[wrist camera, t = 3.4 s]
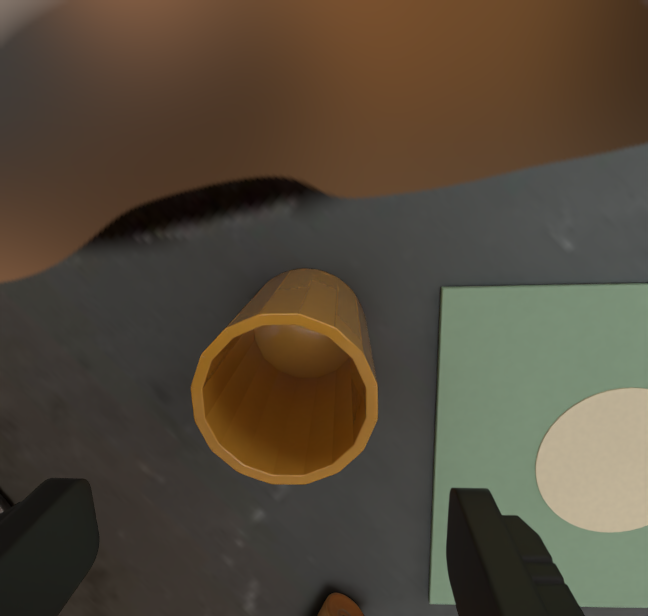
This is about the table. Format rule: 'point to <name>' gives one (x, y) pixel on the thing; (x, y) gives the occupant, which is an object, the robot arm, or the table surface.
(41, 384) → the table surface
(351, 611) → the kendama
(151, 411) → the table surface
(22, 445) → the table surface
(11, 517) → the robot arm
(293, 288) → the cup
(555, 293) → the mat
